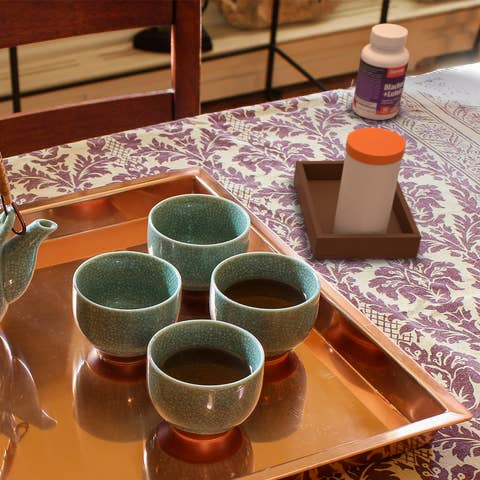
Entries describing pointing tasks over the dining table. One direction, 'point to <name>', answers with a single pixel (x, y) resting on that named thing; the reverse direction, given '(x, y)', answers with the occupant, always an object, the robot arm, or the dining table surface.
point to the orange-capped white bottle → (368, 181)
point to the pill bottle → (382, 73)
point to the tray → (324, 210)
